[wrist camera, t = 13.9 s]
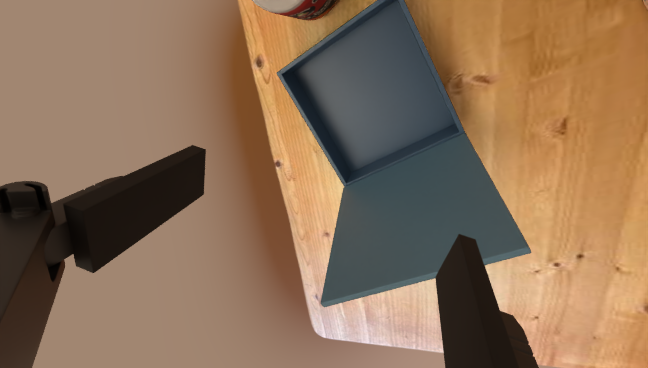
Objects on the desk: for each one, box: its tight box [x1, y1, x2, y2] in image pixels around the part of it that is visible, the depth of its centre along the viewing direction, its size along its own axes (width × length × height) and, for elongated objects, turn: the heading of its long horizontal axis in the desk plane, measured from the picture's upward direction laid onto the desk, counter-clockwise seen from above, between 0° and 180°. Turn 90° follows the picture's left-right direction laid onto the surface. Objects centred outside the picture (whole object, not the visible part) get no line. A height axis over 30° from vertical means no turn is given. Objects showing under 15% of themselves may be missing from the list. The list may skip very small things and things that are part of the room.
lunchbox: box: [277, 0, 465, 187], centre depth 37 cm, size 17×16×4 cm
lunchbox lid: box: [321, 133, 531, 307], centre depth 30 cm, size 18×16×1 cm
